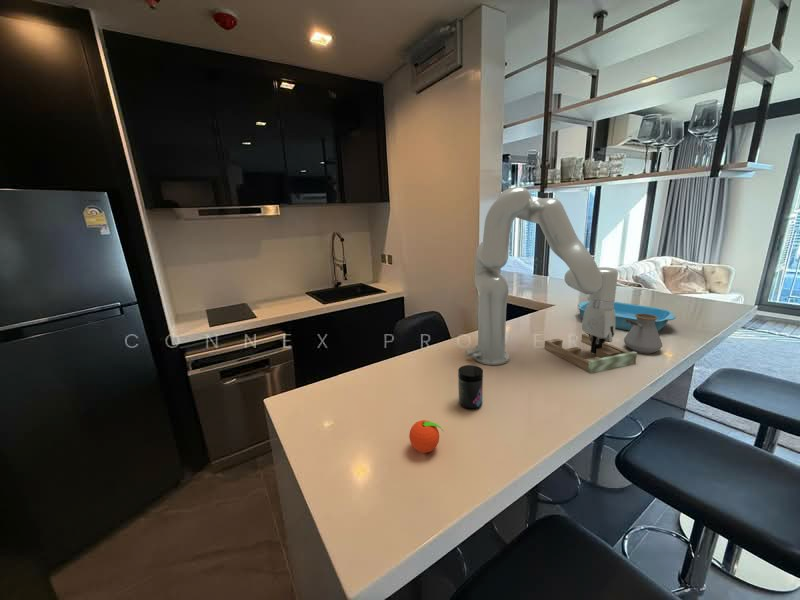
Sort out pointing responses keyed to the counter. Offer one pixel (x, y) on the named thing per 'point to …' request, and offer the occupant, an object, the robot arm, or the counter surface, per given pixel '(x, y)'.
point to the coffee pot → (643, 334)
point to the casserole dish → (629, 311)
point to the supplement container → (470, 386)
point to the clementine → (424, 436)
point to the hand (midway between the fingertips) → (595, 352)
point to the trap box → (591, 363)
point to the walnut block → (606, 352)
